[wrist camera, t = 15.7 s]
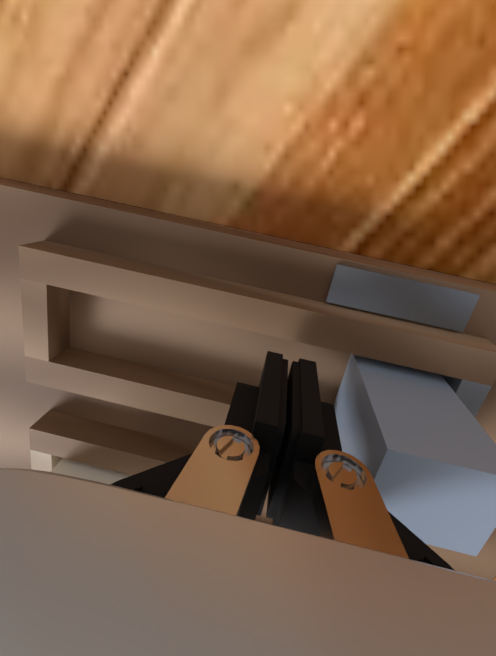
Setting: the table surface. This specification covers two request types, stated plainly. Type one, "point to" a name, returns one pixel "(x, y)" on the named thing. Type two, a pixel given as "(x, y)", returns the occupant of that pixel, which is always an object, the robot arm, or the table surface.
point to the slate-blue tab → (420, 451)
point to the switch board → (201, 330)
